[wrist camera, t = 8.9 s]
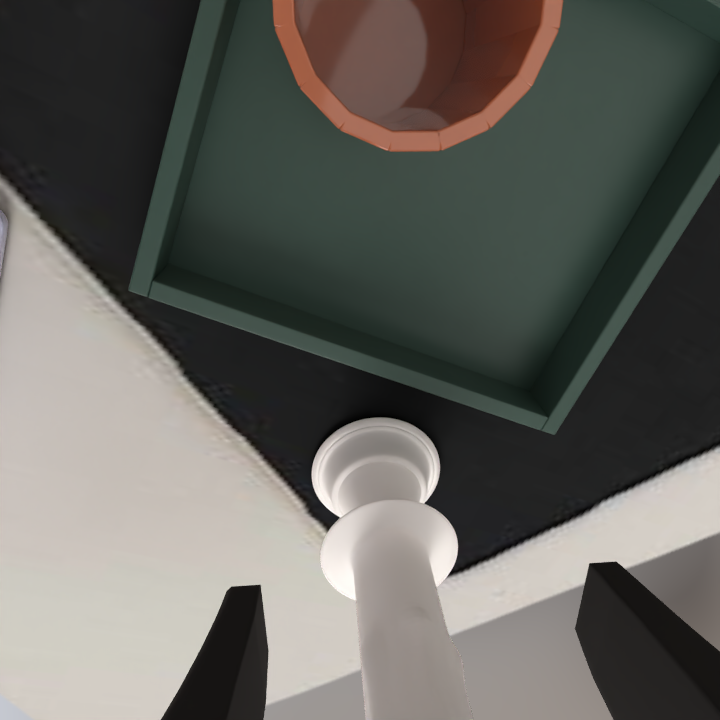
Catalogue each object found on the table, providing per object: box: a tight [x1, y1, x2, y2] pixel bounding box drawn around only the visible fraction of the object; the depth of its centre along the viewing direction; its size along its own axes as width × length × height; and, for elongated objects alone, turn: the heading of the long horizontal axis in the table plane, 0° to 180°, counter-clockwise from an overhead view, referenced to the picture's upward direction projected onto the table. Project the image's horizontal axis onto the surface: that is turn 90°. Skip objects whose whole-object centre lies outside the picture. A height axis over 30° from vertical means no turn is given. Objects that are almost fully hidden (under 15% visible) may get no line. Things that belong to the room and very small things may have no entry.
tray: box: [129, 0, 720, 435], centre depth 17 cm, size 15×14×2 cm
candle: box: [312, 417, 474, 720], centre depth 18 cm, size 5×5×12 cm
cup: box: [272, 0, 563, 152], centre depth 13 cm, size 5×5×6 cm
